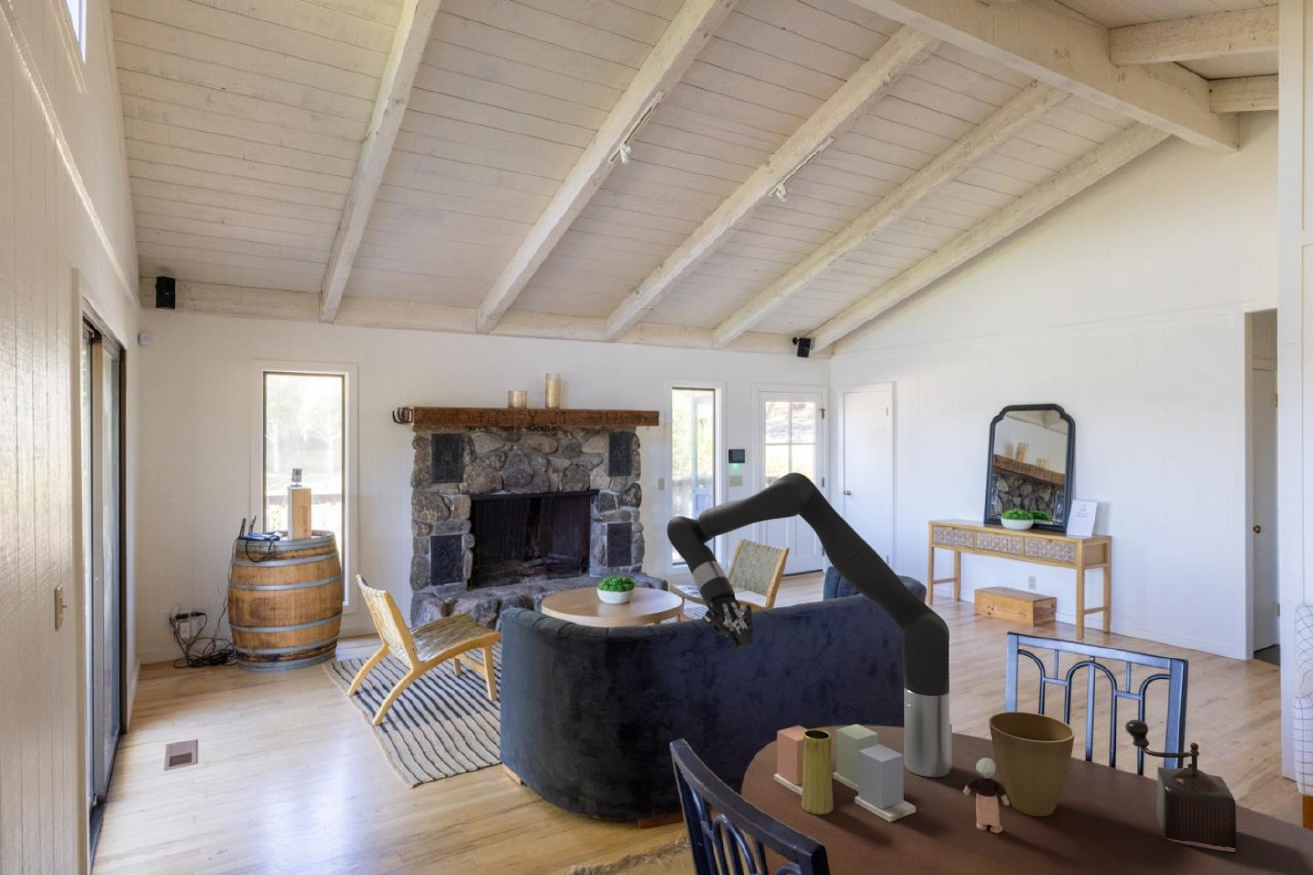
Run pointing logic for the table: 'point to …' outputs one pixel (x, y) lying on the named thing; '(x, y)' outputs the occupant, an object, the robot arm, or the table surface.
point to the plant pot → (1032, 758)
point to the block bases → (860, 799)
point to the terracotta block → (791, 753)
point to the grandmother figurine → (987, 796)
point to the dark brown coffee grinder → (1190, 798)
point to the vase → (817, 772)
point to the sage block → (852, 748)
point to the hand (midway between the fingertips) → (744, 646)
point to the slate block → (880, 776)
